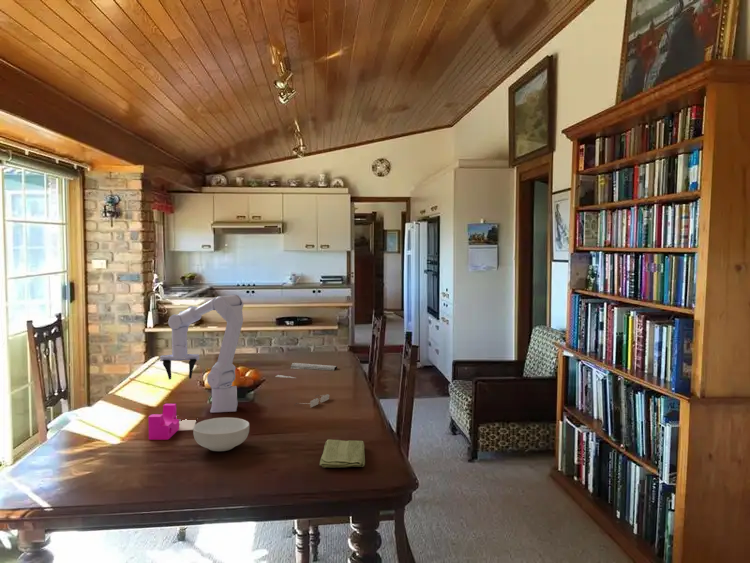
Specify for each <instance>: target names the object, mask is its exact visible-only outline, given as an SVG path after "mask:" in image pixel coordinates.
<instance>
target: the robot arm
mask: <svg viewBox="0 0 750 563" xmlns="http://www.w3.org/2000/svg"><path fill="white" fill-rule="evenodd" d="M243 308H244V301H243V299H242V298H241V297H240V295H239V294H231V295H218V296H216V297H213V298H212V299H210V300H208V301H207V302H205V303H203V304H201V305H200V306H194V305H190V306H188V307H187V309H185V310H181V311H179V313H178V314H175V313H174V314H172V315H170V316H169V318H168V319H167V320H168V322H167V324H168V326H169V328H170V329H171V354H167V355H160V356H159V362H162V365H163V367H164V368H165V370H166V374H167V377H168V380H172V361H174V362H175V361H188V367H189V370H188V371H189V372H188V373H189V374H188V379H189V380H191V379H192V376H193V371H194V368H195V365H196V363H197V361H199V360H200V354H199V353H197V354H190V353H188V331H189V327H190V325H191V324H193V323H195V322H198V321H199V320H201V319H202V316H203V315H205V314H207V313H210V312H211V311H216V313H217V314H218V315H219V316H220V317H221V318H222V319H223V320H224V321H225V322H226V326H225V331H224V335H223V338H222V342H221V346H220V350H219V354H218V358H217V361H216V362H215V364H214V365H213V366H212V367H211V369H210V372H209V373H208V374H207V377H206V379H207V380H206V382H207V384H208V385H209V387H210V389H211V408H210V410H209V412H210V414H212V413H228V412H229V413H231V412H233V413H234V412H237V409H238V403H239V402H238V388H237V385H233V382H234V381H235V380H236V366H235V365H234V364H233V362H234V359H235V354H236V351H237V347H238V342H239V339H240V335H241V331H242V327H243V324H244V316H243Z"/></svg>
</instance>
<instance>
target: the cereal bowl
mask: <svg viewBox="0 0 750 563" xmlns="http://www.w3.org/2000/svg"><path fill="white" fill-rule="evenodd" d="M192 431H193V433H192V434H193V437H194V441H195V442H196V443H197V444H198V445H199V446H201V447H203V448H205V449H208V450H210V451H211V452H226V451H230V450H232V449H234V448H235V447H237V446H240V445H241V444H242V443H244V442H245V441H246V439H247V438H248V436H249V433H250V422H249V421H248V420H246V419H243V418H239V417H227V416H226V417H213V418H209V419H204V420H201V421H198V422H196V423H195V425H194V428H193V430H192Z"/></svg>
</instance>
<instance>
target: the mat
mask: <svg viewBox="0 0 750 563" xmlns="http://www.w3.org/2000/svg"><path fill="white" fill-rule="evenodd" d="M290 369H295V370H296V369H297V370H313V371H315V370H316V371H332V372H334V371H335V369H338V366H337V365H330V364H329V365H328V364H327V365H325V364H317V363H316V364H313V363H312V364H311V363H302V362H301V363H300V362H292V364H291V365H290ZM275 378H290V379H296V377H293V376H289V375H288V376H287V375H281V374H277V375H275Z"/></svg>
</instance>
